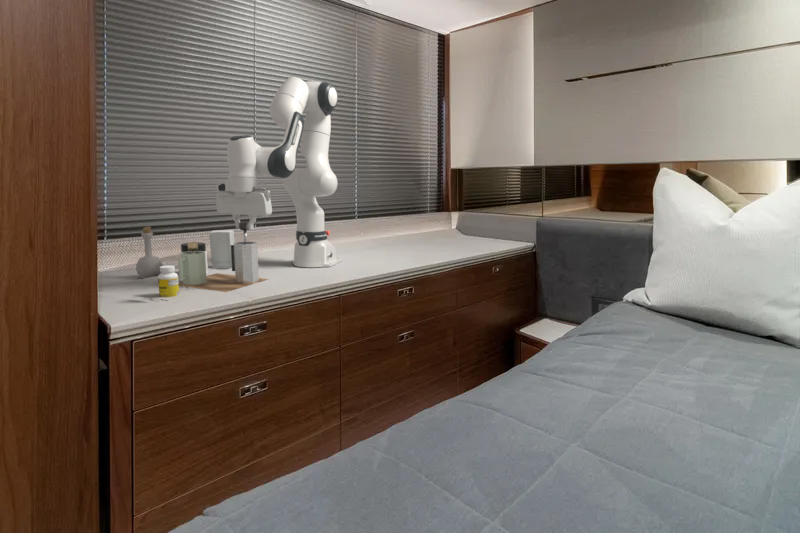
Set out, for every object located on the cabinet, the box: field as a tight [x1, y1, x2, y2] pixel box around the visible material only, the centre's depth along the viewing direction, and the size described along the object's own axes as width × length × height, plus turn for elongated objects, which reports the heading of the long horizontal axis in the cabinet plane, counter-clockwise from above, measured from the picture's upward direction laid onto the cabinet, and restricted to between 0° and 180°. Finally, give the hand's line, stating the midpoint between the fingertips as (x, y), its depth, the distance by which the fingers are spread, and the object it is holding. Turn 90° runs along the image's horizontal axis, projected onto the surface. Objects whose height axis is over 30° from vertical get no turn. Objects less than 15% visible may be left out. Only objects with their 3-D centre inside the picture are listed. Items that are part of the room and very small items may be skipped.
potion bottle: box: [135, 226, 164, 280], centre depth 175 cm, size 9×9×18 cm
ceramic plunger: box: [187, 241, 199, 254], centre depth 162 cm, size 5×5×10 cm
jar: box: [180, 241, 209, 275], centre depth 177 cm, size 9×8×12 cm
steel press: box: [231, 240, 260, 284], centre depth 166 cm, size 7×10×13 cm
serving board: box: [178, 272, 270, 293], centre depth 165 cm, size 21×23×1 cm
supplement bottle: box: [157, 265, 180, 302], centre depth 146 cm, size 5×5×10 cm
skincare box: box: [208, 229, 236, 270], centre depth 194 cm, size 8×6×15 cm
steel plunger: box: [239, 221, 251, 244], centre depth 164 cm, size 5×5×11 cm
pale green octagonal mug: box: [177, 251, 207, 285], centre depth 162 cm, size 10×7×10 cm
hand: (244, 228), depth 163 cm, fingers closed on steel plunger, 3 cm apart
